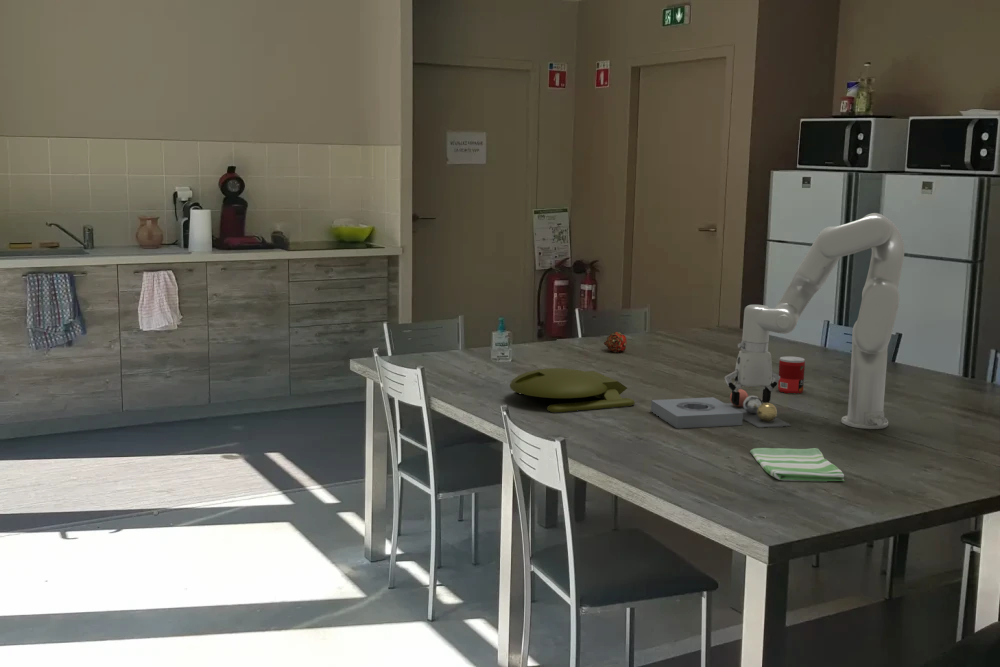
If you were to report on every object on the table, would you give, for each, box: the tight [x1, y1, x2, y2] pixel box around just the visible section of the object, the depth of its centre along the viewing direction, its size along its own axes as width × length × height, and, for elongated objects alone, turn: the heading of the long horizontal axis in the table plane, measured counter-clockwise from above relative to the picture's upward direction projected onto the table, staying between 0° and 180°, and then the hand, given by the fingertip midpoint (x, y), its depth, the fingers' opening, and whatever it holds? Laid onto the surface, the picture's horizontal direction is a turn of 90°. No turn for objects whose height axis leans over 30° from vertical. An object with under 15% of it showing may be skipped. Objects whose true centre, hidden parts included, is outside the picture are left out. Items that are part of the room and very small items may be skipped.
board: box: [650, 396, 743, 429], centre depth 297 cm, size 20×20×4 cm
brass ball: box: [757, 402, 778, 422], centre depth 292 cm, size 6×6×6 cm
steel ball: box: [743, 395, 763, 414], centre depth 301 cm, size 6×6×6 cm
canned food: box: [777, 356, 806, 395], centre depth 332 cm, size 8×8×11 cm
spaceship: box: [509, 367, 636, 413], centre depth 319 cm, size 35×31×10 cm
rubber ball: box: [729, 388, 749, 407], centre depth 309 cm, size 6×6×6 cm
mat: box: [724, 402, 792, 429], centre depth 301 cm, size 28×10×1 cm, turn 13°
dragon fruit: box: [603, 331, 628, 353], centre depth 401 cm, size 8×8×12 cm
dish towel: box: [749, 447, 845, 482], centre depth 250 cm, size 18×23×3 cm
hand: (750, 403), depth 301 cm, fingers open, 9 cm apart
